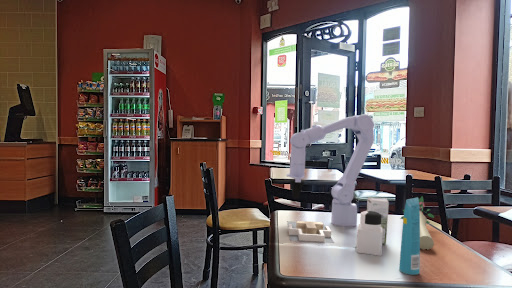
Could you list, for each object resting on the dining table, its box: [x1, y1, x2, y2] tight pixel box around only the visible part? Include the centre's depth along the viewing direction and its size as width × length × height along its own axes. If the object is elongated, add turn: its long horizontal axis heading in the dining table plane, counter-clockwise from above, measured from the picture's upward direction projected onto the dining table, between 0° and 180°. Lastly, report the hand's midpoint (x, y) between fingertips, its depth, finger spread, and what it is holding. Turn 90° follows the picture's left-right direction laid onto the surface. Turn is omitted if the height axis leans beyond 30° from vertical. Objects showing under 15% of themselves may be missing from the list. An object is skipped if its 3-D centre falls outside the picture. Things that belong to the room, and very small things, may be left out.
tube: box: [398, 196, 421, 276], centre depth 94 cm, size 7×5×19 cm, turn 140°
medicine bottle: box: [355, 210, 383, 257], centre depth 110 cm, size 7×7×12 cm
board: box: [286, 221, 335, 245], centre depth 128 cm, size 14×26×1 cm, turn 177°
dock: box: [287, 224, 332, 243], centre depth 122 cm, size 14×13×2 cm
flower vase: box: [399, 196, 435, 251], centre depth 131 cm, size 12×12×35 cm
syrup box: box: [366, 196, 390, 245], centre depth 121 cm, size 6×6×14 cm
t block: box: [295, 220, 324, 234], centre depth 122 cm, size 9×9×4 cm
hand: (295, 198), depth 140 cm, fingers closed
